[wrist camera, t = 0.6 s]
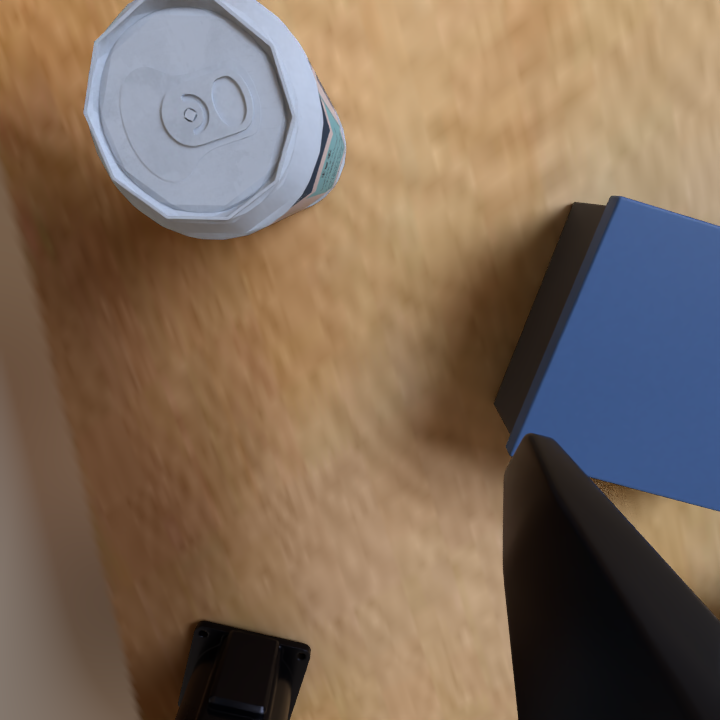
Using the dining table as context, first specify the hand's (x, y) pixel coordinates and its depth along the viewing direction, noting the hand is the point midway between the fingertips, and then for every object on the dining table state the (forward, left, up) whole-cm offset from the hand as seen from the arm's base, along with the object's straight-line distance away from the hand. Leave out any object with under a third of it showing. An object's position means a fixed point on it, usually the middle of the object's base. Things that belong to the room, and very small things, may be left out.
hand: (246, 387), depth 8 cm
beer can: (+4, +3, -15) cm, 16 cm away
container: (0, -15, -15) cm, 21 cm away
